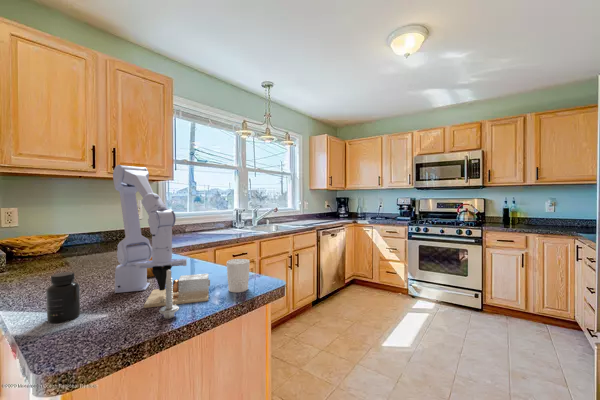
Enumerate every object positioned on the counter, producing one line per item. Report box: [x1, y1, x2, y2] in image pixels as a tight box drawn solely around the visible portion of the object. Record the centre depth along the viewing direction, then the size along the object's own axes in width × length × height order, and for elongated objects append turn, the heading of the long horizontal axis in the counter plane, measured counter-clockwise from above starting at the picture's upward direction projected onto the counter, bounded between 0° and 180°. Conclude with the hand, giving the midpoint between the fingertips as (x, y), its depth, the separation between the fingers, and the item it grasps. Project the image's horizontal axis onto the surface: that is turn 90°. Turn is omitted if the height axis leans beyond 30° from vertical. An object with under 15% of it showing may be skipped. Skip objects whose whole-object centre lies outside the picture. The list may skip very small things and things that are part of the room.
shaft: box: [172, 279, 211, 293], centre depth 92 cm, size 11×4×4 cm, turn 108°
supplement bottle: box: [45, 271, 81, 324], centre depth 75 cm, size 7×7×12 cm
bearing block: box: [143, 273, 210, 309], centre depth 91 cm, size 18×14×6 cm
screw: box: [158, 269, 180, 320], centre depth 75 cm, size 13×5×5 cm
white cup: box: [226, 258, 251, 293], centre depth 98 cm, size 8×8×10 cm
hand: (162, 289), depth 89 cm, fingers closed
